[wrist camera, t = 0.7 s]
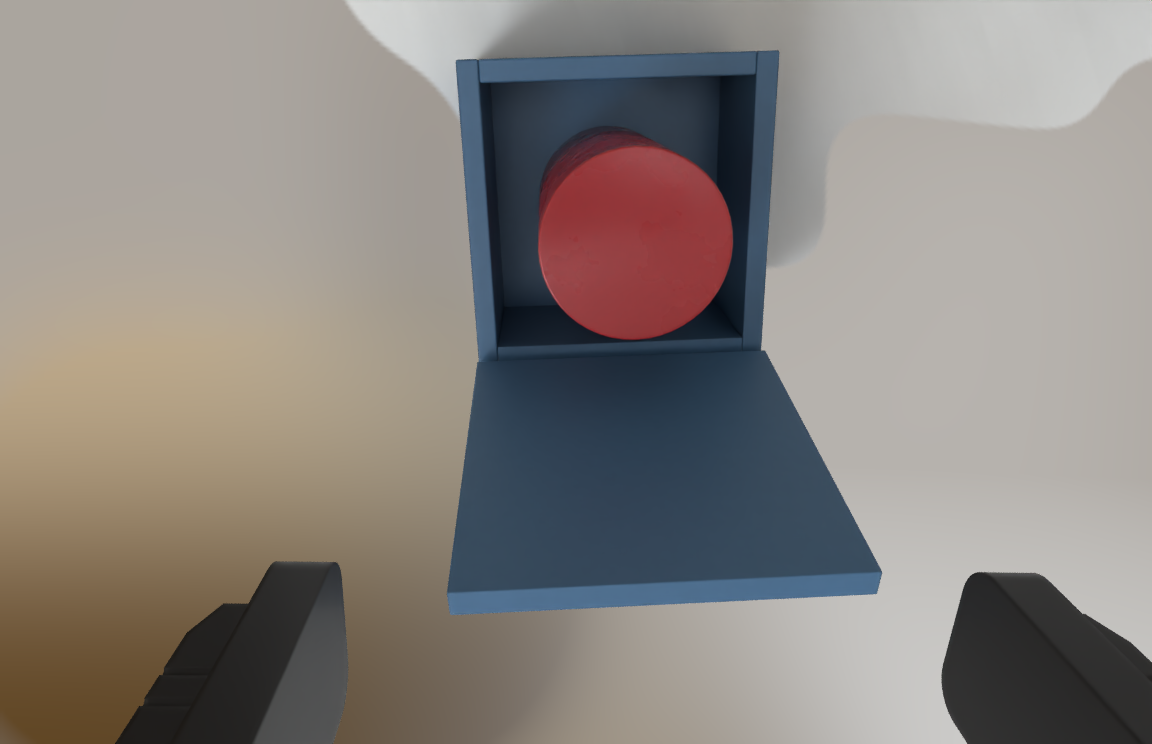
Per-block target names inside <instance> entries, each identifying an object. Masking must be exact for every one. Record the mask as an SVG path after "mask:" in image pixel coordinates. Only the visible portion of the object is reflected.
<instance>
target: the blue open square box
mask: <svg viewBox="0 0 1152 744" xmlns="http://www.w3.org/2000/svg"><path fill="white" fill-rule="evenodd" d="M778 65H779V51H778V50H777V51H743V52H708V53H674V54H639V55H604V56H569V57H534V58H500V59H480V60H477V59H465V60H456V72H457V85H458V98H459V111H460V124H461V137H462V149H463V163H464V176H465V188H466V200H467V214H468V227H469V238H470V239H469V240H470V253H471V266H472V279H473V291H474V303H475V304H474V305H475V317H476V330H477V342H478V356H479V362H490V361H515V360H540V359H565V358H590V357H615V356H640V355H665V354H690V353H715V352H741V351H761V342H762V325H763V309H764V293H765V277H766V260H767V244H768V228H769V212H770V195H771V179H772V163H773V146H774V130H775V114H776V98H777V81H778ZM600 126H618V127H623V128H627V129H630V130H633V131H635V132H637V133H639V134H642V135H643V136H645V137H647V138H649V139H651V140H653V141H655V142H657V143H659V144H661V145H663V146H665V147H667V148H668V149H670V150H672V151H674V152H676V153H678V154H680V155H682V156H684V157H686V158H687V159H689V160H690V161H692V162H693V163H695V164H696V165H698V166H699V167H700V168H701V169H702V170H703V171H704V172H705V173H707V175H708V176H709V177H710V178H711V179H712V180H713V182H714V183H715V184H716V186H717V187H718V189H719V191H720V192H721V194H722V196H723V198H724V200H725V202H726V205H727V207H728V211H729V214H730V217H731V223H732V230H733V248H732V256H731V261H730V265H729V269H728V271H727V274H726V277H725V279H724V281H723V283H722V285H721V287H720V289H719V291H718V292H717V294H716V295H715V297H714V298H713V299H712V301H711V302H710V303H709V304H708V305H707V307H706V308H705V309H704V310H703V311H702V312H701V313H700V314H698V315H697V316H696V317H695V318H694V319H692V320H691V321H690V322H688V323H687V324H685V325H684V326H682V327H680V328H678V329H676V330H674V331H672V332H669V333H667V334H664V335H661V336H657V337H653V338H649V339H640V340H623V339H616V338H611V337H607V336H604V335H600V334H598V333H595V332H593V331H591V330H588V329H587V328H585V327H583V326H582V325H580V324H578V323H577V322H576V321H575V320H573V319H572V318H571V317H569V316H568V315H567V314H566V313H565V312H564V311H563V310H562V309H561V307H560V306H559V305H558V303H557V302H556V301H555V299H554V298H553V297H552V295H551V293H550V291H549V289H548V288H547V285H546V283H545V280H544V278H543V275H542V271H541V267H540V263H539V254H538V232H539V196H540V185H541V180H542V176H543V173H544V170H545V168H546V166H547V164H548V162H549V160H550V158H551V157H552V155H553V154H554V153H555V152H556V150H557V149H558V148H559V147H560V146H561V145H562V144H563V143H564V142H565V141H567V140H568V139H569V138H571V137H572V136H574V135H576V134H578V133H579V132H582V131H584V130H587V129H590V128H594V127H600Z"/></svg>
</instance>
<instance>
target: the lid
mask: <svg viewBox="0 0 1152 744" xmlns="http://www.w3.org/2000/svg"><path fill="white" fill-rule="evenodd" d="M881 575H882V571H881V569H880V567H879V565H878V563H877V561H876V559H875V558H874V556H873V554H872V552H871V550H870V548H869V546H868V544H867V542H866V540H865V539H864V537H863V535H862V533H861V531H860V529H859V527H858V525H857V524H856V522H855V520H854V518H853V516H852V514H851V512H850V510H849V508H848V506H847V505H846V503H845V501H844V499H843V497H842V495H841V493H840V492H839V489H838V488H837V486H836V484H835V482H834V480H833V478H832V476H831V474H830V472H829V471H828V469H827V467H826V465H825V463H824V461H823V459H822V457H821V455H820V454H819V452H818V450H817V448H816V446H815V444H814V442H813V440H812V439H811V437H810V435H809V433H808V431H807V429H806V427H805V425H804V424H803V421H802V420H801V418H800V416H799V414H798V412H797V410H796V408H795V407H794V404H793V403H792V401H791V399H790V397H789V395H788V393H787V391H786V389H785V387H784V386H783V384H782V382H781V380H780V378H779V376H778V374H777V373H776V371H775V369H774V367H773V365H772V363H771V361H770V359H769V357H768V355H767V354H766V352H765V351H741V352H715V353H690V354H665V355H640V356H615V357H590V358H565V359H540V360H515V361H490V362H478V363H477V369H476V377H475V385H474V392H473V400H472V407H471V415H470V422H469V430H468V437H467V445H466V453H465V460H464V468H463V475H462V483H461V490H460V498H459V506H458V513H457V521H456V528H455V537H454V544H453V552H452V559H451V566H450V574H449V581H448V589H447V597H448V603H449V610H450V614H451V615H459V614H482V613H501V612H522V611H542V610H562V609H583V608H601V607H602V608H604V607H624V606H644V605H665V604H685V603H705V602H726V601H746V600H765V599H786V598H807V597H827V596H847V595H867V594H877V591H878V587H879V583H880V579H881Z"/></svg>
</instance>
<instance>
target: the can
mask: <svg viewBox="0 0 1152 744" xmlns="http://www.w3.org/2000/svg"><path fill="white" fill-rule="evenodd" d="M732 248H733V230H732V223H731V217H730V214H729V211H728V207H727V205H726V202H725V200H724V198H723V196H722V194H721V192H720V191H719V189H718V187H717V186H716V184H715V183H714V182H713V180H712V179H711V178H710V177H709V176H708V175H707V173H705V172H704V171H703V170H702V169H701V168H700V167H699V166H698V165H696V164H695V163H693V162H692V161H690V160H689V159H687V158H686V157H684V156H682V155H680V154H678V153H676V152H674V151H672V150H670V149H668V148H667V147H665V146H663V145H661V144H659V143H657V142H655V141H653V140H651V139H649V138H647V137H645V136H643V135H642V134H639V133H637V132H635V131H633V130H630V129H627V128H623V127H618V126H600V127H594V128H590V129H587V130H584V131H582V132H579V133H578V134H576V135H574V136H572V137H571V138H569V139H568V140H567V141H565V142H564V143H563V144H562V145H561V146H560V147H559V148H558V149H557V150H556V152H555V153H554V154H553V155H552V157H551V158H550V160H549V162H548V164H547V166H546V168H545V170H544V173H543V176H542V180H541V185H540V196H539V232H538V254H539V263H540V267H541V271H542V275H543V278H544V280H545V283H546V285H547V288H548V289H549V291H550V293H551V295H552V297H553V298H554V299H555V301H556V302H557V303H558V305H559V306H560V307H561V309H562V310H563V311H564V312H565V313H566V314H567V315H568V316H569V317H571V318H572V319H573V320H575V321H576V322H577V323H578V324H580V325H582V326H583V327H585V328H587V329H588V330H591V331H593V332H595V333H598V334H600V335H604V336H607V337H611V338H616V339H623V340H640V339H649V338H653V337H657V336H661V335H664V334H667V333H669V332H672V331H674V330H676V329H678V328H680V327H682V326H684V325H685V324H687V323H688V322H690V321H691V320H692V319H694V318H695V317H696V316H697V315H698V314H700V313H701V312H702V311H703V310H704V309H705V308H706V307H707V305H708V304H709V303H710V302H711V301H712V299H713V298H714V297H715V295H716V294H717V292H718V291H719V289H720V287H721V285H722V283H723V281H724V279H725V277H726V274H727V271H728V269H729V265H730V261H731V256H732Z"/></svg>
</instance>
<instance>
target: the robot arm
mask: <svg viewBox="0 0 1152 744" xmlns="http://www.w3.org/2000/svg"><path fill="white" fill-rule="evenodd" d="M347 682H348V654H347V640H346V627H345V615H344V601H343V589H342V577H341V570H340V567H339V565H338V564H337V563H336V562H277V561H276V562H274V563H272V564H271V565H270V567H269V568H268V570H267V572H266V573H265V575H264V577H263V579H262V581H261V582H260V584H259V586H258V588H257V589H256V591H255V593H254V595H253V596H252V598H251V600H250V602H249V604H223V605H221V606H220V607H219V608H217V609H216V610H215V611H214V612H212V613H211V614H210V615H209V616H208V617H206V618H205V619H204V620H202V621H201V622H200V623H198V624H197V625H196V626H195V627H193V628H192V629H191V630H190V631H189V632H187V633H186V635H185V636H184V638H183V639H182V641H181V642H180V644H179V646H178V647H177V649H176V650H175V652H174V653H173V655H172V656H171V658H170V659H169V661H168V663H167V664H166V666H165V667H164V673H163V675H159V677H158V678H157V680H156V681H155V683H154V684H153V686H152V687H151V689H150V690H149V692H148V694H147V695H146V697H145V701H144V705H143V706H139V707H138V709H137V711H136V712H135V714H134V715H133V717H132V719H131V720H130V722H129V723H128V724H127V726H126V728H125V729H124V731H123V732H122V734H121V735H120V737H119V738H118V740H117V742H116V743H115V744H333V742H334V739H335V735H336V732H337V729H338V726H339V723H340V719H341V716H342V713H343V709H344V704H345V698H346V691H347ZM942 690H943V696H944V699H945V704H946V707H947V709H948V712H949V714H950V716H951V718H952V720H953V722H954V723H955V725H956V727H957V728H958V730H959V731H960V733H961V734H962V736H963V737H964V739H965V740H966V742H967V744H1152V662H1151V661H1150V660H1149V659H1147V658H1146V657H1145V656H1144V655H1143V654H1142V653H1141V652H1140V651H1139V650H1138V649H1137V648H1136V647H1135V646H1134V645H1133V644H1132V643H1131V642H1129V641H1127V640H1126V639H1124V638H1123V637H1121V636H1119V635H1118V634H1116V633H1115V632H1113V631H1111V630H1110V629H1108V628H1107V627H1105V626H1103V625H1102V624H1100V623H1098V622H1097V621H1095V620H1094V619H1092V618H1090V617H1089V616H1087V615H1086V614H1082V613H1081V612H1080V611H1079V610H1078V609H1077V608H1076V607H1075V606H1074V605H1073V604H1072V603H1071V602H1070V601H1069V600H1068V599H1067V598H1066V597H1065V596H1064V595H1063V594H1062V593H1061V592H1060V591H1059V590H1057V588H1056V587H1054V586H1053V584H1052V583H1050V582H1049V581H1048V580H1047V579H1046V578H1045V577H1043V576H1041V575H1039V574H1036V573H987V572H984V573H983V572H977V573H974V574H972V575H971V576H970V577H969V578H968V580H967V581H966V583H965V585H964V589H963V592H962V596H961V600H960V604H959V607H958V611H957V614H956V618H955V622H954V626H953V629H952V633H951V637H950V641H949V645H948V648H947V652H946V656H945V659H944V663H943V668H942Z"/></svg>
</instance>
